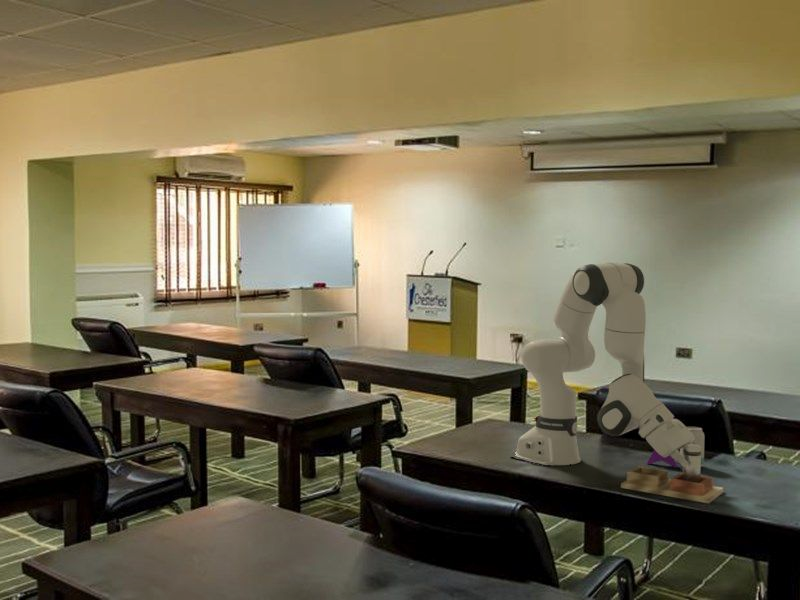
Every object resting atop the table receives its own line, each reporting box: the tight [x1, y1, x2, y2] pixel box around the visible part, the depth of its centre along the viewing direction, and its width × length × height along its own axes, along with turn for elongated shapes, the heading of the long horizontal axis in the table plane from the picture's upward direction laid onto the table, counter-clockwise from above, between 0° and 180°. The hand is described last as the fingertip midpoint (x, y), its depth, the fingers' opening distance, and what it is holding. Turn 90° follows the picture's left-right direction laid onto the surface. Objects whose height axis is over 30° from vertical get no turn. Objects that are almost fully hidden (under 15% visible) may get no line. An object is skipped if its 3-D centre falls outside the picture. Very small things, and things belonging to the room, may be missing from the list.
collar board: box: [620, 465, 724, 504], centre depth 220 cm, size 24×13×4 cm, turn 52°
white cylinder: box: [682, 444, 702, 483], centre depth 216 cm, size 5×5×12 cm
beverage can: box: [679, 426, 705, 468], centre depth 244 cm, size 7×7×12 cm
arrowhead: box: [646, 448, 678, 469], centre depth 246 cm, size 10×2×10 cm
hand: (692, 461), depth 216 cm, fingers open, 8 cm apart
